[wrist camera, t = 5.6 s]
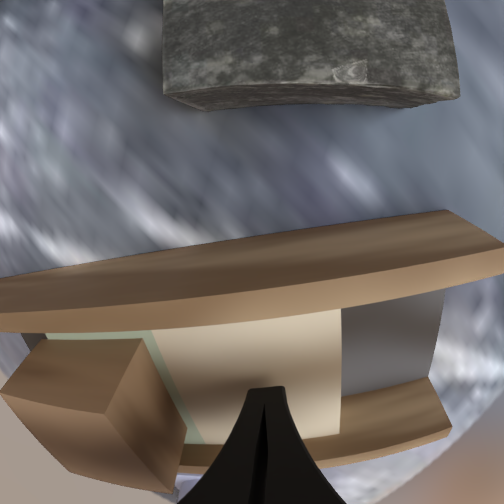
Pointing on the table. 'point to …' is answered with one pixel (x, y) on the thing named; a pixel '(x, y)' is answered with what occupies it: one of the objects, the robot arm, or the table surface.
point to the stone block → (308, 53)
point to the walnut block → (100, 410)
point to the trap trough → (279, 326)
